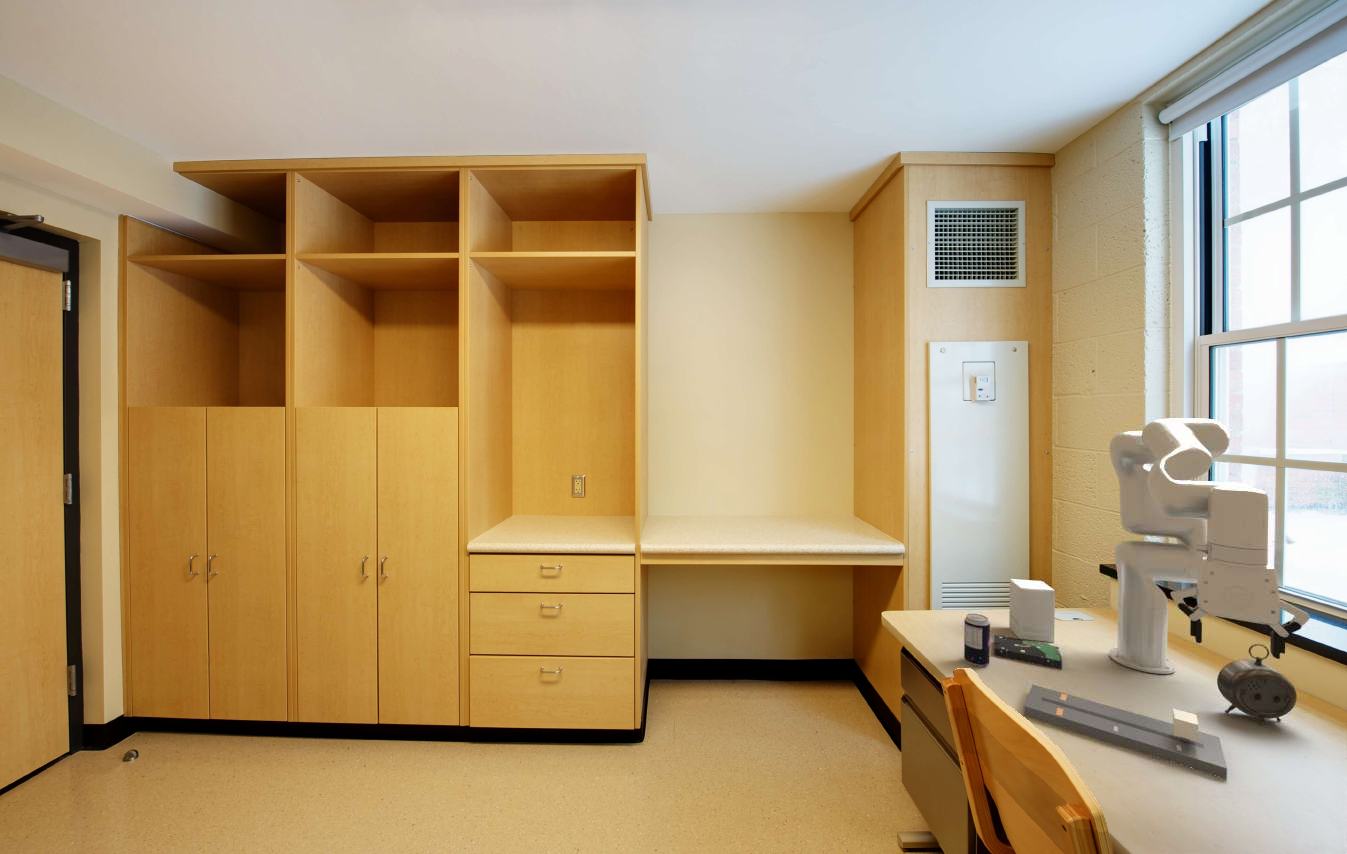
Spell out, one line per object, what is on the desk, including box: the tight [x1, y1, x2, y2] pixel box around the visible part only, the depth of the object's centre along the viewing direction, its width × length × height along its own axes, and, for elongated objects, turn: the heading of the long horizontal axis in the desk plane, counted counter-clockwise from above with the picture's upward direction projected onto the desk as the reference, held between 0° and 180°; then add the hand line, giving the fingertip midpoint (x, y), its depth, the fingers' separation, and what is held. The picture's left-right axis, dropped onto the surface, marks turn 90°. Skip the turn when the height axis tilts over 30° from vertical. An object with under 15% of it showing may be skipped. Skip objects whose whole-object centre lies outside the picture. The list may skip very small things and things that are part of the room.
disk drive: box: [993, 634, 1063, 670], centre depth 140 cm, size 10×3×15 cm
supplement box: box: [1008, 578, 1056, 643], centre depth 153 cm, size 9×9×15 cm
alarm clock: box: [1216, 643, 1297, 726], centre depth 110 cm, size 11×5×16 cm, turn 71°
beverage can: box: [963, 613, 991, 668], centre depth 136 cm, size 6×6×12 cm
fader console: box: [1023, 683, 1228, 780], centre depth 107 cm, size 12×30×2 cm, turn 48°
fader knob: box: [1172, 708, 1199, 742], centre depth 100 cm, size 4×3×4 cm
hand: (1235, 648), depth 96 cm, fingers open, 9 cm apart
